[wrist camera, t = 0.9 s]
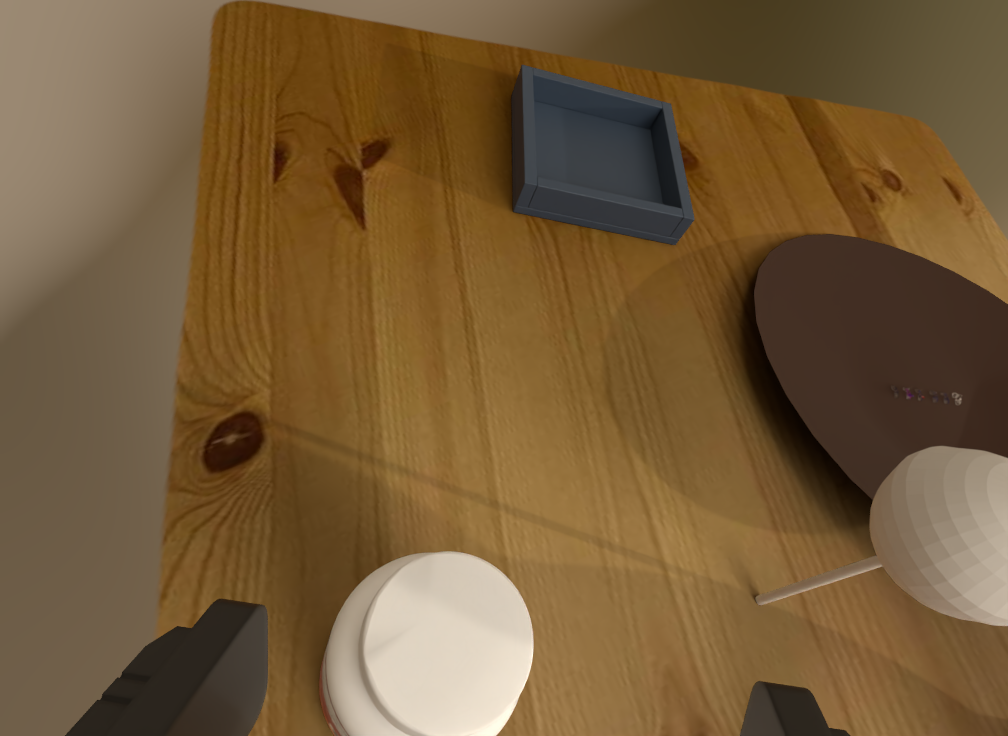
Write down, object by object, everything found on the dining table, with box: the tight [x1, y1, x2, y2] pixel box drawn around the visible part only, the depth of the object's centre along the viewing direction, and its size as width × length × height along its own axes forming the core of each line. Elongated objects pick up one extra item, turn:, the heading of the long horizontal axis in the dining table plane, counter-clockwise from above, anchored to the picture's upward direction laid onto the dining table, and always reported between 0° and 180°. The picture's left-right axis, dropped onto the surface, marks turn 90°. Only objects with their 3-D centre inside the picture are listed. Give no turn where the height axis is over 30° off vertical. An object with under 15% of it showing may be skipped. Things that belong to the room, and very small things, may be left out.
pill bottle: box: [319, 551, 533, 736], centre depth 22 cm, size 6×6×11 cm
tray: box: [512, 65, 694, 245], centre depth 45 cm, size 12×12×3 cm
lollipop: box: [756, 446, 1008, 626], centre depth 27 cm, size 6×6×15 cm
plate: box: [754, 234, 1008, 500], centre depth 42 cm, size 28×28×4 cm
